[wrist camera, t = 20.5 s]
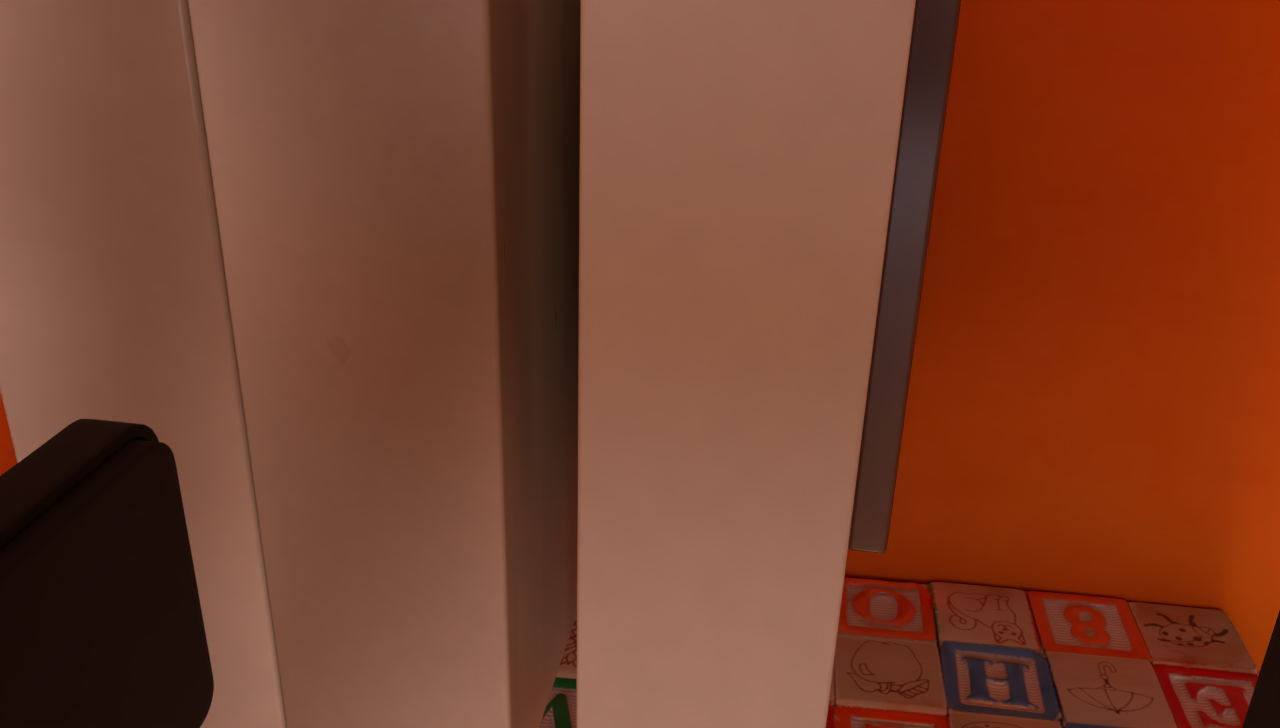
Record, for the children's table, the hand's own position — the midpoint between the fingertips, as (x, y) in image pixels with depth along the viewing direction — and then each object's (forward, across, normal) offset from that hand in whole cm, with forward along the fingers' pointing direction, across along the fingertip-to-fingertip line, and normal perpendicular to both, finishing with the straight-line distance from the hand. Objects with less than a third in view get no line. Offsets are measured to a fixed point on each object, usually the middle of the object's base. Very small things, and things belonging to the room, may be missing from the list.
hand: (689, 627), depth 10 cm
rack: (+24, +3, 0) cm, 24 cm away
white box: (+22, 0, 0) cm, 23 cm away
